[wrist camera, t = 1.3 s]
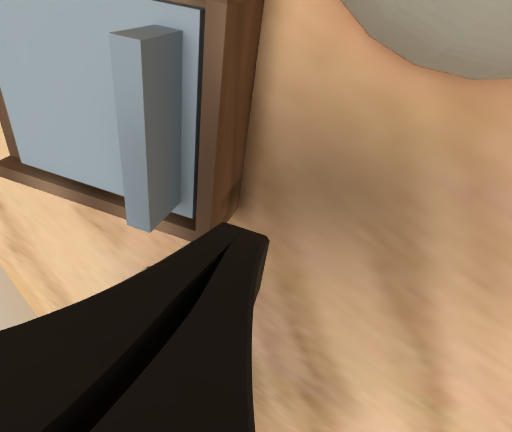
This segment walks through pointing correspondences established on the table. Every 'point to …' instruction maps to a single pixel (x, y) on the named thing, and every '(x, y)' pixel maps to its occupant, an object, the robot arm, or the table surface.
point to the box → (211, 126)
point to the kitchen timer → (443, 33)
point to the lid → (108, 96)
